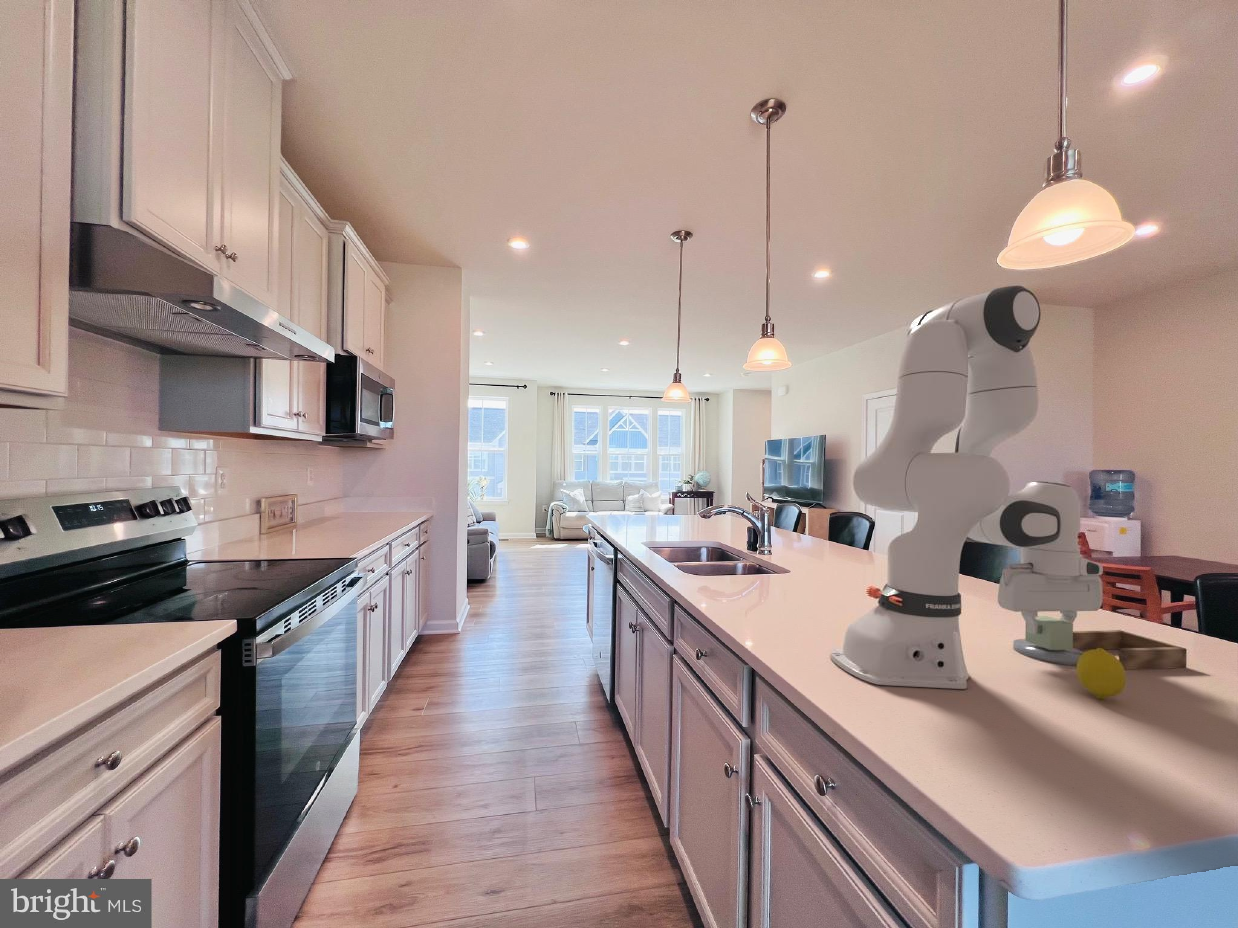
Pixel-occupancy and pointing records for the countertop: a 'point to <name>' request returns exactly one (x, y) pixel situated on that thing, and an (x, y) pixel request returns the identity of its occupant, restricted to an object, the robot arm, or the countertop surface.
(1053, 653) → the grey round glossy part
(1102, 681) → the lemon
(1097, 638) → the cubby
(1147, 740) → the countertop surface
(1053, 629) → the cube
